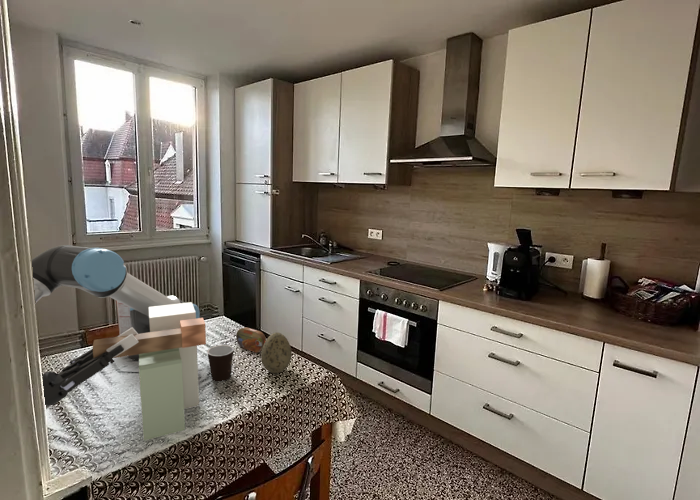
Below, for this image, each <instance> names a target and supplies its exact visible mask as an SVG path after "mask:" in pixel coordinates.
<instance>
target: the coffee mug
mask: <svg viewBox="0 0 700 500" xmlns="http://www.w3.org/2000/svg"><path fill="white" fill-rule="evenodd" d="M234 350H235V349H234V346H231V345H228V344H219V345H215V346H212V347H210V348H209V349H208V350H207V351H206V353H207V358H208V365H209V369H210V370H209V371H210V376H211V380H212V381H214V382H218V383H220V382H224V381H227V380H229V379H231V377H232V370H233V369H232V367H233V359H234Z"/></svg>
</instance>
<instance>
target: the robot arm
mask: <svg viewBox="0 0 700 500" xmlns="http://www.w3.org/2000/svg"><path fill="white" fill-rule="evenodd" d="M31 260H32V267H33V279H34V290H35V301H36V303H37V302H38V301H40V300H41V299H42V297H48V296H50V295H51V294H52V293H53V292H54V291H55V290H56V289H58V288H61V287H69V288H73V289H74V288H76V289H79V290H81V291H84V292H86V293H88V294H90V295H92V296H95V298H100V299H102V298H103V299H104V298H105V299H106V298H111V299H113V300H115V301H116V300H117V301H119V302H121V303H123V304H125V305H127V306H129V307H130V317H131V328H130V329H128V330H127V331H125V332H124V333H122V334H119V335H117V336H116V337H119V336H126V335H129V336H127V337H126V338H124V339H122V340H121V341H119V342H118V343H116V344H114V345H113V346H111V347H110V348H108V349H107V350H106V351H107V352H108V353H107V352H104V353H102V354H101V355H99V356H97V357H95V358H94V357H93V348H91V349H90V350H88V351H87V352H85V353H82V354H81V355H80V356H78V357H76V358H74V359H72V360H70V361H69V363H68V364H69V365H67V366H65V367H63V368H62V369H61V371H60V372H59V373H57V372H54V371H46V372H44V373H43V374H41V375H42V376H43V386H44V397H45V405H46V410H47V409H48V408H49V407H50V406H54V405H55V404H57V403H59V402H60V401H62V400H63V399H64V398H67V396H68V394H69V393H70V392H71V391H73V390H74V389H75V388H77V387H78V386H79V385H81V384H83V383H85V381H87V380H88V379H90V378H92V377H93V376H95V375H96V374H98V373H99V372H101V371H103V370H104V369H106V368H107V367H109V366H110V364H111V365H112V364H114V363H115V360H114V359H116V358H115V357H116V356H118V355H120V354H121V353H123V352H124V351H126V350H127V349H129V348H131V347H132V346H134V345H135V344H137V343H138V342H139V341H138V340H137V339H136V338H135V337H134V334H141V333H148V332H150V323H149V307H153V306H162V305H171V304H180V303H186V302H185V301H183V300H181V299H180V298H179V297H176V296H175V295H165V294H163V293H161V292H160V291H159V290H156V289H155V288H153V287H152V286H150V285H148V284H147V283H145V282H144V281H142V280H140V279H139V278H137V277H135V276H133V275H132V274H130V273H129V272H128V268H127V266H126V265H125V264H124V263H125V261H124V259H123V258H122V257H121V256H120V255H119V254H118V253H116V252H115V251H114V250H113V251H112V250H110V249H106V248H102V247H86V246H77V245H71V244H63V245H57V246H53V247H51V248H48V249H46V250H44V251H42V252H41V253H39V254H37V255H36V256H35V257H33V258H32V259H31ZM192 304H193V307H194V309H195V312H196V318H201V316H200V315H201V314H200V313H201V312H200V309H199V306H198V305H197V304H195V303H192ZM127 357H128V359H130V360H132V361H135V362H139V354H137V355H131V356H127Z"/></svg>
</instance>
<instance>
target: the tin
mask: <svg viewBox="0 0 700 500" xmlns="http://www.w3.org/2000/svg"><path fill="white" fill-rule="evenodd" d="M235 337H236V342H237V344H238V346H239V347H240V348H242V349H243V350H247V351H251V352H253V353H256V354H257V353H260V352H262V348H263V345H264V343H265V341H266V340H267V338H266V336H265V334H264V333H263V332H262V331H260V330H257V329H254V328H250V327H242V328H239V329H238V330H237V331H236V336H235Z"/></svg>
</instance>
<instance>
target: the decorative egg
mask: <svg viewBox="0 0 700 500" xmlns="http://www.w3.org/2000/svg"><path fill="white" fill-rule="evenodd" d="M260 352H261V353H260V355H261V357H260V358H261V359H260V360H261V364H262V366H263V367H264V369H265V370H266V371H267V372H270V373H272V374H279V373H282V372H283V371H285V370H286V369H287V368H288V367H289V366H290V364H291V360H292V355H293V354H292V347H291V345H290V342H289V340H288V339H287V337H286V336H285V335H284V334H282V333H281V332H273V333H271V334H270V335H269V336H268V337H267V338H266V341H265V343H264V345H263V348H262V351H260Z"/></svg>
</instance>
